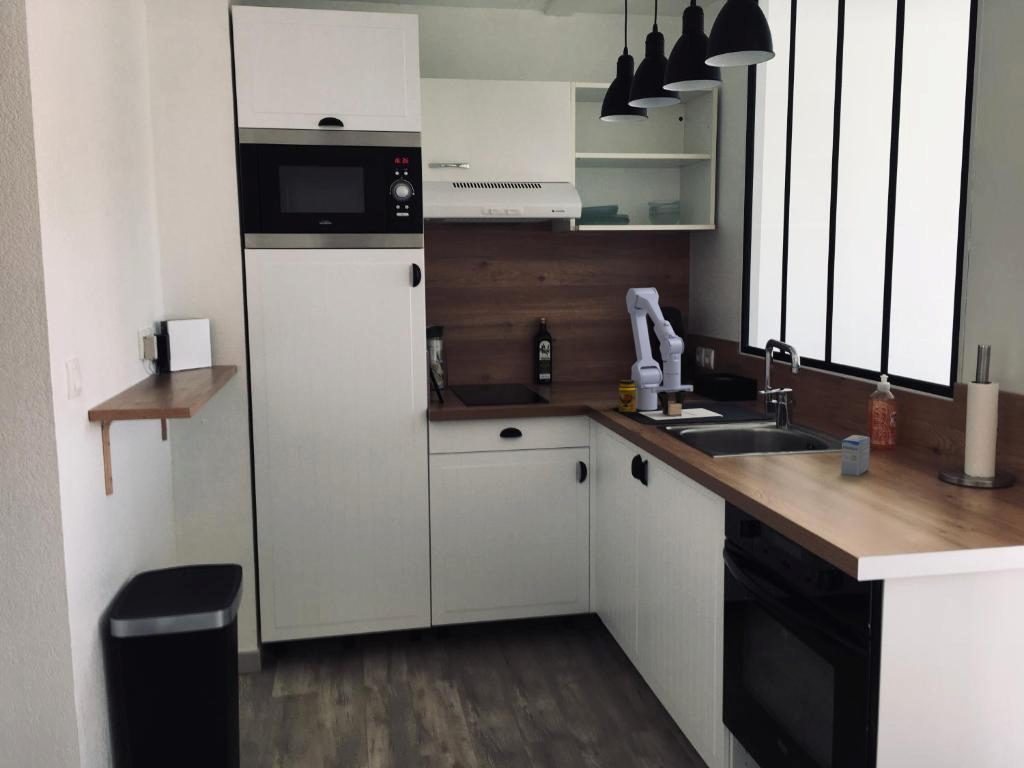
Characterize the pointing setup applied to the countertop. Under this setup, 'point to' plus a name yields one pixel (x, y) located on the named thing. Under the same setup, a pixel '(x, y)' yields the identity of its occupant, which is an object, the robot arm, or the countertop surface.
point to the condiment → (627, 396)
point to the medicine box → (855, 455)
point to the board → (685, 414)
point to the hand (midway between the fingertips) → (671, 413)
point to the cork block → (674, 409)
